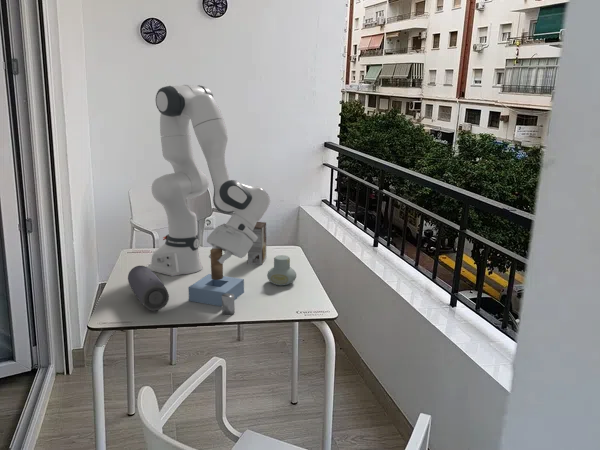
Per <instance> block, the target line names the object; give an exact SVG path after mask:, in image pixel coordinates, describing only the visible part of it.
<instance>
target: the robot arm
mask: <svg viewBox="0 0 600 450" xmlns="http://www.w3.org/2000/svg"><path fill="white" fill-rule="evenodd" d="M155 106H156V108H157V110H158V112H159V113H160V117H159V133H160V134H159V135H160V143H161V151H162V157H163V158H164V160H165V161H167V162H168V163H169V164H171V166H172V169H173V171H174V172H172V173H167V174H163V175H162V176H160V177H157V178H155V179H154V180H153V182H152V185H151V194H152V196H153V198H154V199H155V200H156V201H157V202H158V203H160V205H162V206H161V207H163V209H164V211H165V214H166V218H167V226H168V234H166V235H165V236H163V237H162V241H164V240H165V243H164V244H162V245H161V246H160V247H158V248H157V249H156V250H154V251H153V253H152V255H151V261H150V262H149V263H148V264H146V265H145V267H147V268H149V269H150V270H151V271H152V272H154V273H155V272H156V273H158V274H159V273H160V274H163V275H167V276H172V277H174V276H179V275H188V274H194V273H196V272H200V271H201V270H202V269H203V264H202V261H201V256H200V251H199V247H200V246H199V245H200V243H199V240H200V237H199V233H198V219H197V214H196V213H195V212H194V211H193V210H191V209H190V208H189V205H188V200H191V199H195V198H198V197H200V196H201V195H203V194H205V193H206V192H207V191H208V189H209V186H210V185H209V179H208V175H206V173H205V172H203V171H202V170H201V169H200V167H199V166H198V164H197V162H196V159H195V156H194V153H193V152H194V151H193V147H192V146H193V145H192V138H191V129H190V122H191V125H192V128H193V130H194V131H193V132H194V134H195V136H196V140H197V142H198V145H199V147H200V148H201V151H202V153H203V155H204V159H205V160H206V164H207V167H208V170H209V174H210V178H211V182H212V185H213V197H212V202H213V205H214V208H215V209H216V210H217V211H218V212H219V213H221V214H224V215H230V214H232V215H231V216H230V218H229V219H228V220H227V222H226V223H223V224H219V225H218V226H217V227H215V228H214V229H213V230H212V232H211V233H210V234H209V235H208V236H207V238H206V243H207V244H209V245H210V246H211V247H212V248H211V249H215V248H219V249H222V252H224V253H223V254H222V256H221V257H219V258H218V259H217V261H218V262H219V263H221V264H223V265H224V263H225V261H227V260H228V259H229V258H231V256H232V255H233V256H234V257H238V258H240V259H243V258H244V257H245V256H246V255H248V251H249V250H250V248H251V247H252V245H253V242H255V241H256V240H257V239H258V237H257V236H256V235H255V234H254V233H253V232H252V230H253V229H254V227H255V225H256V223H257V222H260V220H261V219H263V216H264V215H265V213H266V212H267V210H268V208H269V207H270V203H271V198H270V196H269V194H268V193H267V192H266V190H265V189H263V188H262V187H260V186H257V185H256V186H253V185H247V184H244V183H242V182H239V181H238V180H236V179H235V180H234V179H231V178H230V176H229V175H230V174H229V172H228V168H227V164H226V158H225V156H226V155H225V154H226V149H227V143H228V130H227V126H226V123H225V118H224V117H223V114H222V111H221V110H220V107H219V104H218V103H217V101H216V100H215V98H214V94H213V92H212V91H211V89H210V88H208V87H207V86H203V85H200V84H199V85H194V84H183V85H180V84H179V85H172V86H171V85H167V86H163V87H160V88H159V89H158V91H157V92H156V95H155ZM190 120H191V121H190ZM208 258H209V259H210V260H211V253H209V255H208Z"/></svg>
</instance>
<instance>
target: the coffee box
mask: <svg viewBox="0 0 600 450" xmlns="http://www.w3.org/2000/svg"><path fill="white" fill-rule="evenodd" d="M252 232H253V233H254V234H255V235H256V236H257V237H258V239H257V240H256V241H255V242H253V245H252V247H251V248H250V250H249V251H248V253H247V265H259V266H261V265H263V264H264V262H265V261H266V259H267V222H265V221H263V222H262V221H258V222H257V223H256V225H255V227H254V229H253V230H252Z"/></svg>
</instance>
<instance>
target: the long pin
mask: <svg viewBox="0 0 600 450" xmlns="http://www.w3.org/2000/svg"><path fill="white" fill-rule="evenodd" d="M209 254H211V259H210V274H211V278H212V279H213V280H220V279H223V276H224V267H223V266H224V263H223V264H221V263H219V262H218V261H217V259H218V258H219V257H221V256H222V255H223V250H222V249H219V248H215V249H212V248H211V249H210V253H209Z"/></svg>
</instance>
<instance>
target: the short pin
mask: <svg viewBox="0 0 600 450" xmlns="http://www.w3.org/2000/svg"><path fill="white" fill-rule="evenodd" d="M235 304H236V303H235V300H234V294H230V293H227V294H223V295H222V306H221V314H222V316H225V315H231V316H234V315H235V314H234V313H236V312H235V309H236V308H235V307H236V306H235Z"/></svg>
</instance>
